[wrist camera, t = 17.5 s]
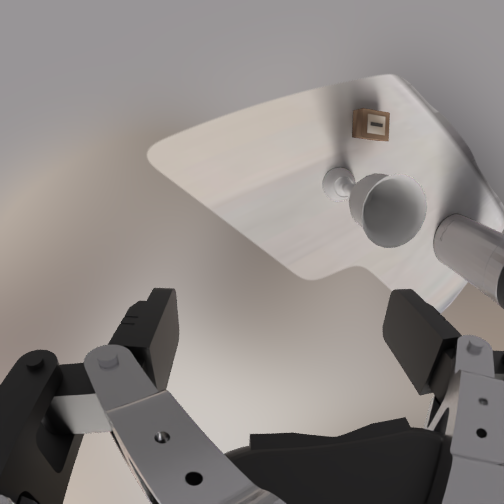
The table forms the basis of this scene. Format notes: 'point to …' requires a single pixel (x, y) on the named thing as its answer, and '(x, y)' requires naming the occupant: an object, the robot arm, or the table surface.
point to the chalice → (380, 204)
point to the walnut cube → (371, 124)
